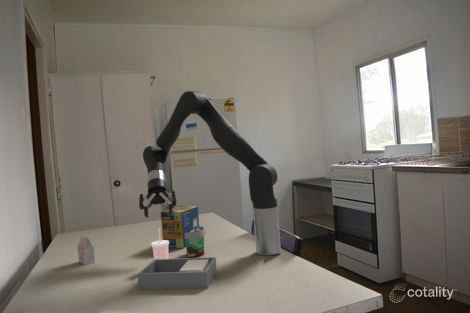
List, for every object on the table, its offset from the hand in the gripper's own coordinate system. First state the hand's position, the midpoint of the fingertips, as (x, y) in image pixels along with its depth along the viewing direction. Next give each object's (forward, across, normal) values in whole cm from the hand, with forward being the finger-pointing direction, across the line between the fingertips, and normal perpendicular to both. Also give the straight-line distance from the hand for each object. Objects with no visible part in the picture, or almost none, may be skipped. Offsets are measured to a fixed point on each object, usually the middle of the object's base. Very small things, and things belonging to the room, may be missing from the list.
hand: (158, 215), depth 132 cm
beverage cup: (+19, 0, +5) cm, 20 cm away
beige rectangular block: (+32, +10, -10) cm, 35 cm away
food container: (+12, +14, +12) cm, 22 cm away
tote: (+32, +5, -8) cm, 33 cm away
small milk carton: (+5, -29, +19) cm, 35 cm away
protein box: (-2, +9, +26) cm, 28 cm away
